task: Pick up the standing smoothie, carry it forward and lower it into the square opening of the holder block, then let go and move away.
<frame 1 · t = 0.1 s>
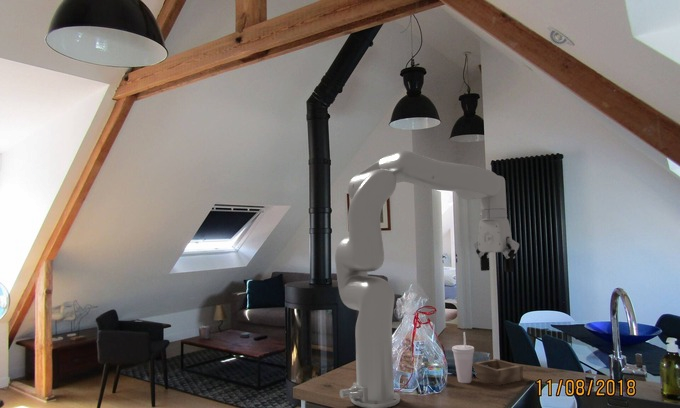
hand: (496, 271, 144), 31 cm above the table, tool pointing down, fingers open, 9 cm apart
smoothie: (464, 382, 136), on the table
holder: (497, 378, 138), on the table
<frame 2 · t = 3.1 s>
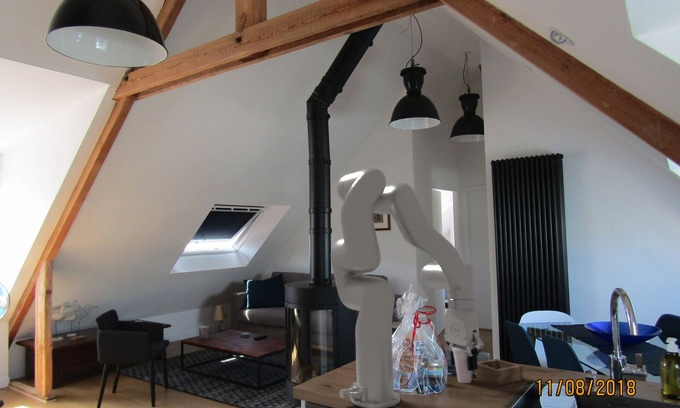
hand: (463, 366, 136), 4 cm above the table, tool pointing down, fingers open, 6 cm apart
smoothie: (464, 382, 136), on the table, touching gripper
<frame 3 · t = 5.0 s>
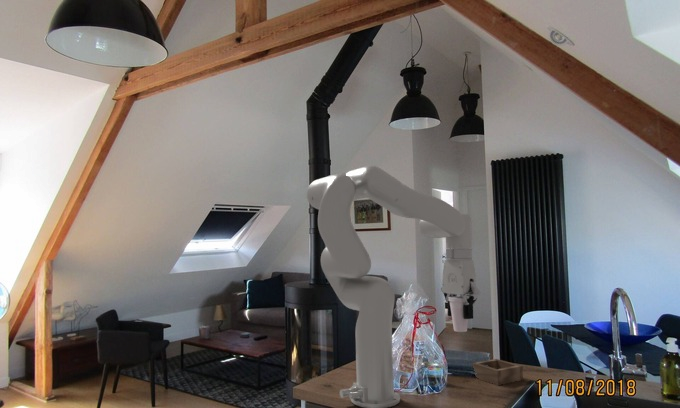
hand: (460, 316, 137), 18 cm above the table, tool pointing down, fingers closed on smoothie, 6 cm apart
smoothie: (460, 331, 137), point 14 cm above the table, touching gripper
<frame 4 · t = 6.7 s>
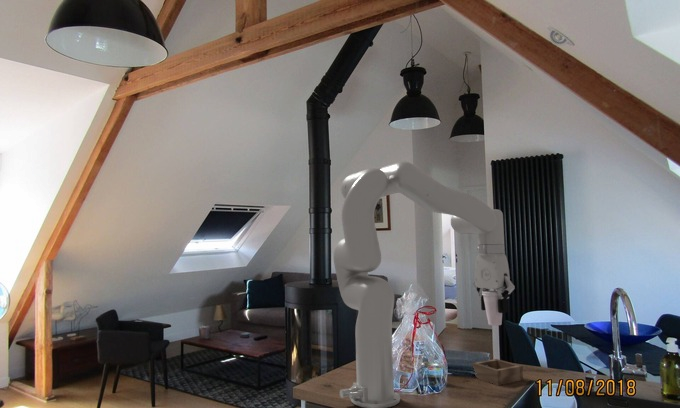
hand: (494, 310, 140), 20 cm above the table, tool pointing down, fingers closed on smoothie, 6 cm apart
smoothie: (494, 325, 139), point 15 cm above the table, touching gripper
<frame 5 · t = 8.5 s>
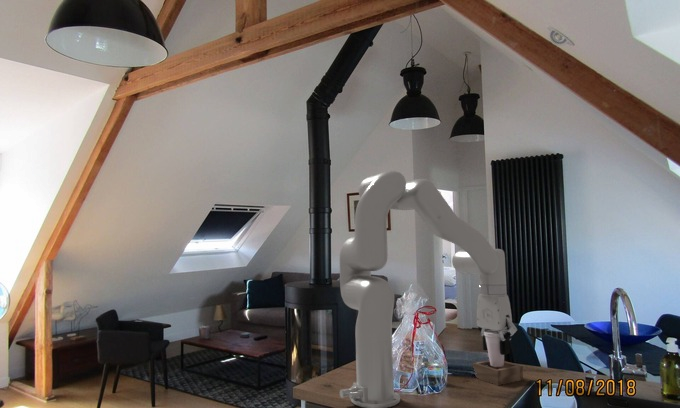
hand: (496, 351, 139), 8 cm above the table, tool pointing down, fingers closed on smoothie, 6 cm apart
smoothie: (497, 365, 138), point 4 cm above the table, touching gripper
when the fingers open (6 cm above the table, at t = 9.9 s): smoothie drops 2 cm, resting in holder.
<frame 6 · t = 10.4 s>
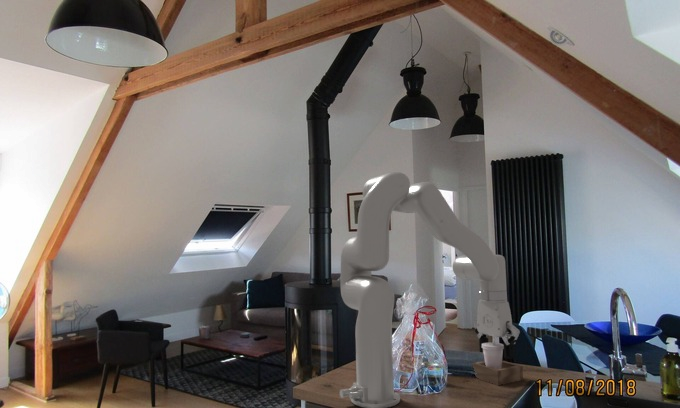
hand: (496, 354, 139), 7 cm above the table, tool pointing down, fingers open, 9 cm apart
smoothie: (494, 378, 139), resting in holder
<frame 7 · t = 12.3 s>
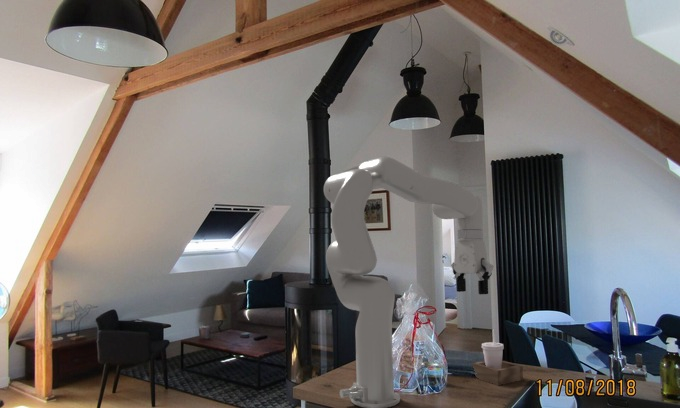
hand: (472, 292, 142), 25 cm above the table, tool pointing down, fingers open, 9 cm apart
nothing on the table moved.
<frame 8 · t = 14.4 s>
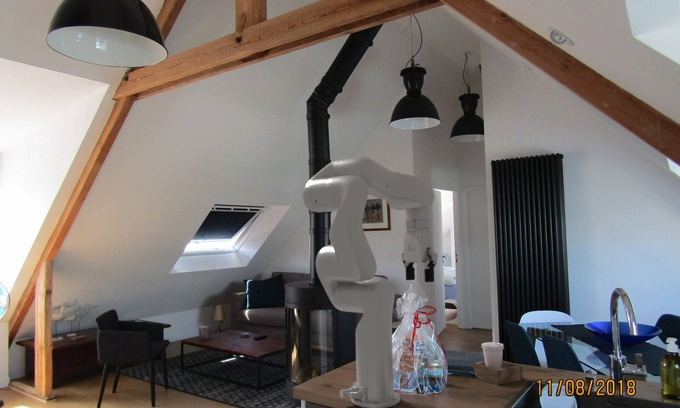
hand: (419, 280, 148), 28 cm above the table, tool pointing down, fingers open, 9 cm apart
nothing on the table moved.
at the end: smoothie 1.2 cm off-centre on the holder, point 0.0 cm above the holder's base; smoothie tilted 0°; the gripper is holding nothing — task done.
